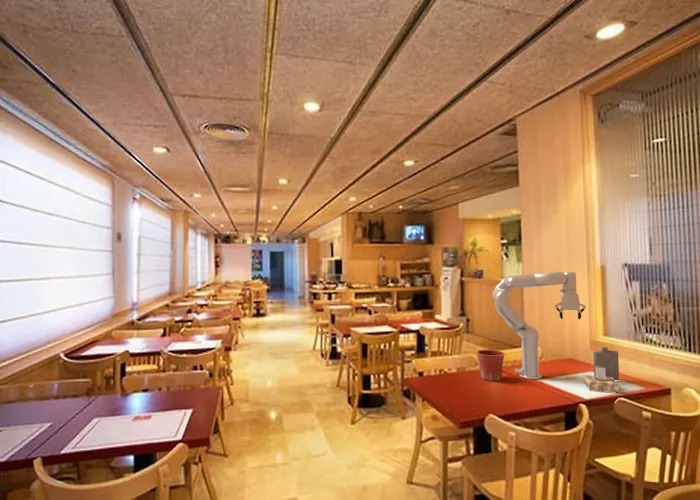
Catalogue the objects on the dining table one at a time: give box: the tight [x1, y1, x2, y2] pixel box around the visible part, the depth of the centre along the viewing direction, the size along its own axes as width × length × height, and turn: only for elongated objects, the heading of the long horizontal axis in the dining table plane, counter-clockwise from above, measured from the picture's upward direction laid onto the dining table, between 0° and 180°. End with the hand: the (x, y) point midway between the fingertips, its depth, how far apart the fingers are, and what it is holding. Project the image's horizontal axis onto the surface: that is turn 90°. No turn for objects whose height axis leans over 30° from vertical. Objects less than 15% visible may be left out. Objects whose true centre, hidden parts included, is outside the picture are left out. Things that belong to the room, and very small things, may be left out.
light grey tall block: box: [596, 366, 606, 381], centre depth 225 cm, size 4×4×11 cm
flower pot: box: [476, 349, 506, 382], centre depth 247 cm, size 16×16×16 cm
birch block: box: [584, 374, 620, 394], centre depth 225 cm, size 14×14×5 cm
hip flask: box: [593, 346, 620, 381], centre depth 239 cm, size 16×4×20 cm, turn 100°
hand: (570, 318), depth 247 cm, fingers open, 9 cm apart
